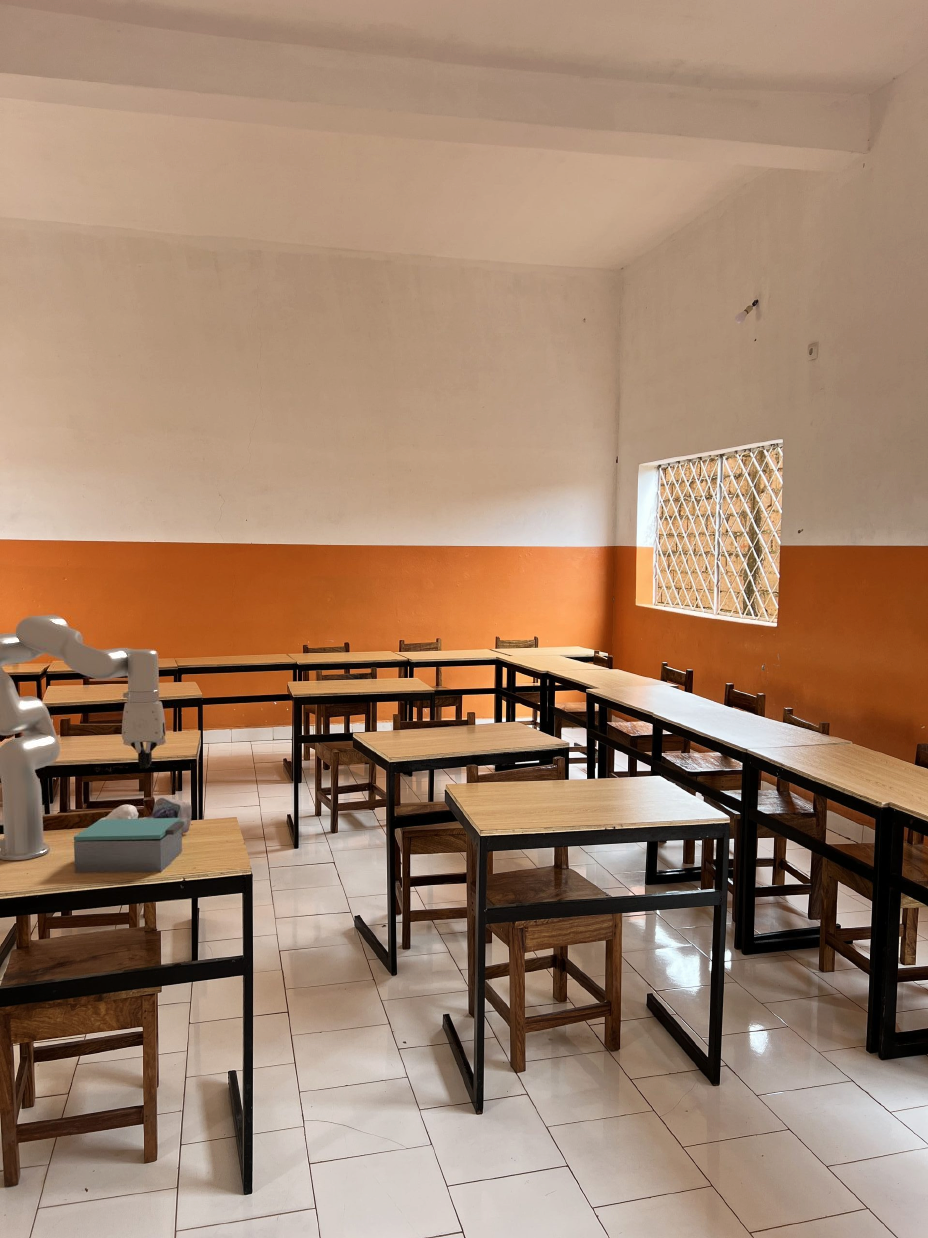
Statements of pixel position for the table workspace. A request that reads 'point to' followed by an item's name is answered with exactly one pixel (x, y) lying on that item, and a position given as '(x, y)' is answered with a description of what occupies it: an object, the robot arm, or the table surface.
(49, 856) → the table surface
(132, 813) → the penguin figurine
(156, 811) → the cell model
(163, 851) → the grey storage box
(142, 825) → the lid
